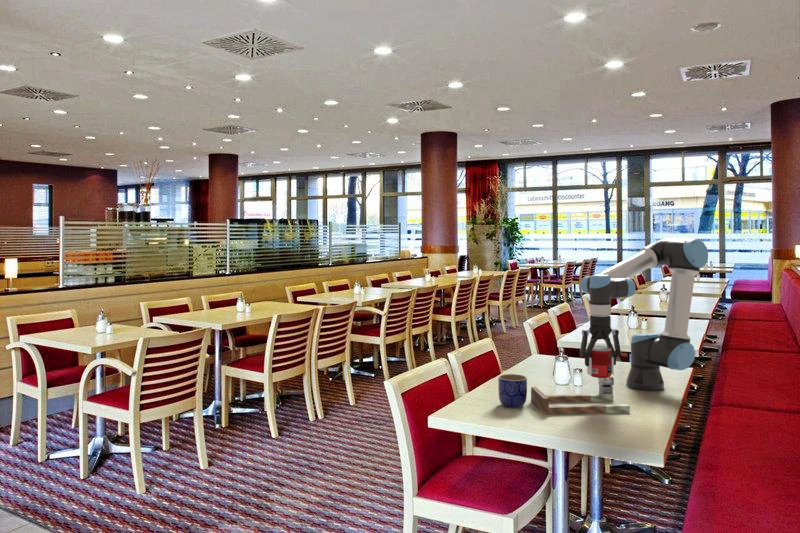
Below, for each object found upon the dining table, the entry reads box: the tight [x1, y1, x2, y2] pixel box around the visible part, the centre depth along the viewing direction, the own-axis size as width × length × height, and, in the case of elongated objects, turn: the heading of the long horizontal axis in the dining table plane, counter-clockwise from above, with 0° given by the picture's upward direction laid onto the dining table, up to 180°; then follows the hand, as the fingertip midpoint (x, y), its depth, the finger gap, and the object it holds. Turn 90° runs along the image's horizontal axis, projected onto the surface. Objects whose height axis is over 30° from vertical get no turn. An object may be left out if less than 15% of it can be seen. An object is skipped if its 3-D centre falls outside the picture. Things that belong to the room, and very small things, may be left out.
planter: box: [497, 373, 528, 409], centre depth 235 cm, size 11×11×11 cm
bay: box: [530, 386, 631, 416], centre depth 232 cm, size 32×17×6 cm, turn 93°
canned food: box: [589, 345, 612, 379], centre depth 232 cm, size 8×8×11 cm
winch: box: [597, 376, 615, 396], centre depth 245 cm, size 5×4×9 cm
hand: (600, 373), depth 233 cm, fingers closed on canned food, 8 cm apart
